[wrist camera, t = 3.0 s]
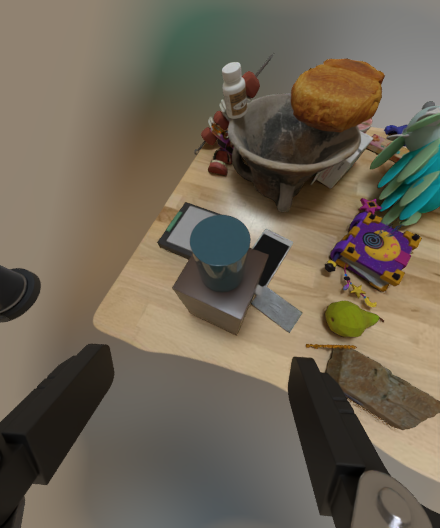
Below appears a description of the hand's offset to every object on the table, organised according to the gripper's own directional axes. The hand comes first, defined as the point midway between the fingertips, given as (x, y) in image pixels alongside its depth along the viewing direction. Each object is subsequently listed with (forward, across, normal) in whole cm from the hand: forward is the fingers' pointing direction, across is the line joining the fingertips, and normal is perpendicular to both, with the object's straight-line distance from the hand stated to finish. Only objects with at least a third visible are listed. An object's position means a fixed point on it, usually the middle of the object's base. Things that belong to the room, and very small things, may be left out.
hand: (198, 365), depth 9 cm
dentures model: (+53, +4, -13) cm, 55 cm away
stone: (+18, -21, +25) cm, 38 cm away
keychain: (+23, -19, +17) cm, 34 cm away
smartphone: (+37, -8, +7) cm, 39 cm away
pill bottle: (+45, -1, -23) cm, 51 cm away
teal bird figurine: (+45, -51, -14) cm, 70 cm away
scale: (+41, +7, +2) cm, 42 cm away
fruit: (+25, -19, +13) cm, 34 cm away
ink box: (+56, -33, -19) cm, 68 cm away
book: (+39, -31, +4) cm, 50 cm away
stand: (+30, 0, +14) cm, 33 cm away
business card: (+29, -10, +14) cm, 34 cm away
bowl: (+54, -13, -10) cm, 56 cm away
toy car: (+56, 0, -22) cm, 60 cm away
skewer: (+64, +12, -19) cm, 68 cm away
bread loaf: (+38, -19, -27) cm, 50 cm away
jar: (+19, 0, +3) cm, 19 cm away
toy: (+60, -43, -19) cm, 77 cm away
